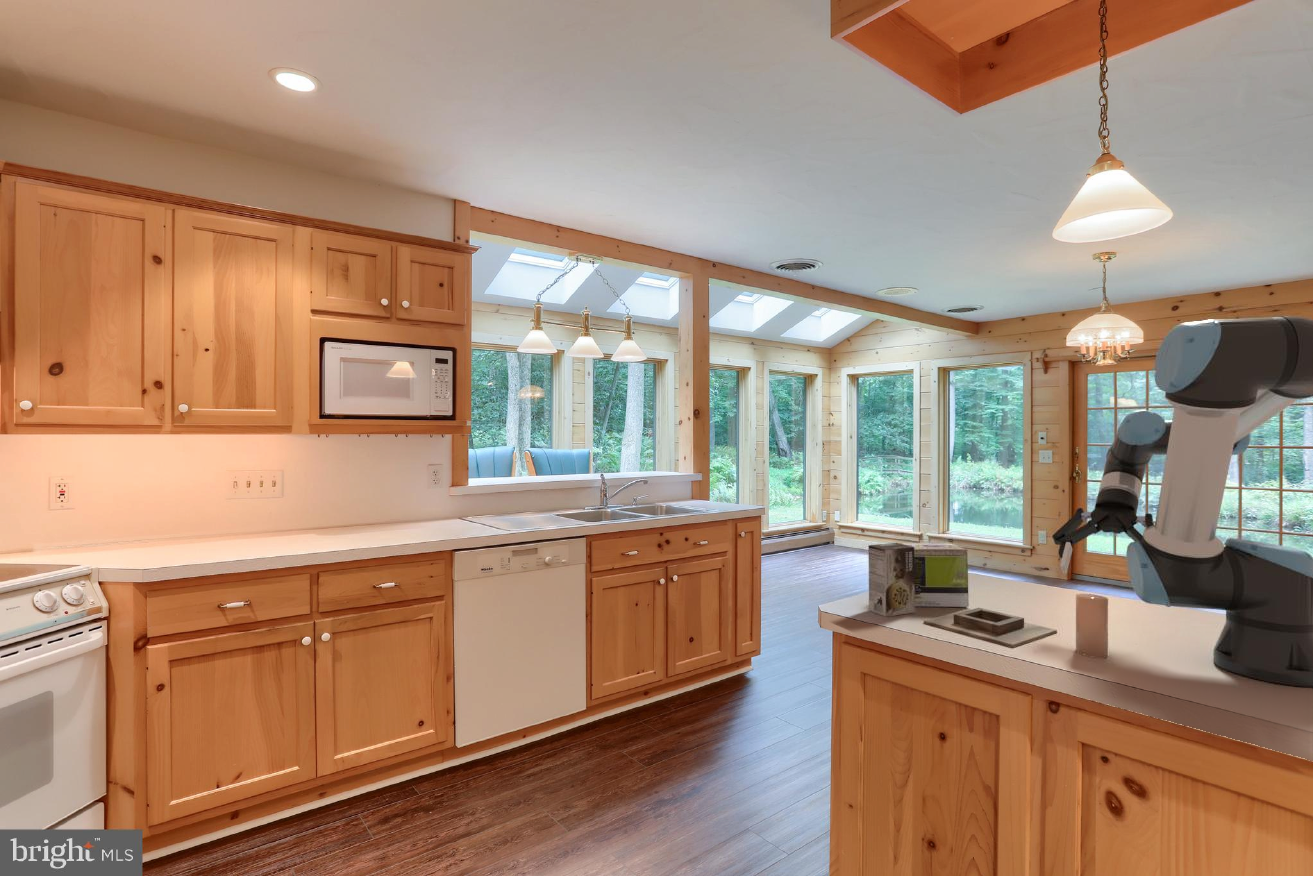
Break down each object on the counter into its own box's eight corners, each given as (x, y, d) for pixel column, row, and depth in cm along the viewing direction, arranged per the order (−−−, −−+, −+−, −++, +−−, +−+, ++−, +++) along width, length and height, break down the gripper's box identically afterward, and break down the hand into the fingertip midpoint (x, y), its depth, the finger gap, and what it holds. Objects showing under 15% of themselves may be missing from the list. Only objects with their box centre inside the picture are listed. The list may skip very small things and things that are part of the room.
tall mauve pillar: (1112, 654, 123) (1112, 598, 123) (1100, 659, 120) (1100, 601, 120) (1083, 646, 127) (1083, 592, 127) (1070, 651, 124) (1070, 596, 124)
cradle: (1056, 632, 136) (1056, 620, 136) (1012, 647, 126) (1012, 634, 126) (968, 611, 153) (968, 600, 153) (923, 623, 143) (923, 611, 143)
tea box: (954, 598, 166) (954, 542, 166) (969, 608, 156) (969, 549, 156) (895, 597, 167) (895, 541, 167) (906, 607, 157) (906, 548, 157)
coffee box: (896, 606, 157) (896, 542, 157) (915, 613, 151) (916, 546, 151) (867, 610, 154) (867, 544, 154) (885, 617, 148) (885, 548, 148)
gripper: (1192, 513, 134) (1180, 597, 124) (1057, 503, 152) (1037, 575, 142) (1188, 490, 130) (1176, 574, 120) (1051, 483, 148) (1030, 555, 138)
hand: (1100, 575), depth 131 cm, fingers open, 13 cm apart
